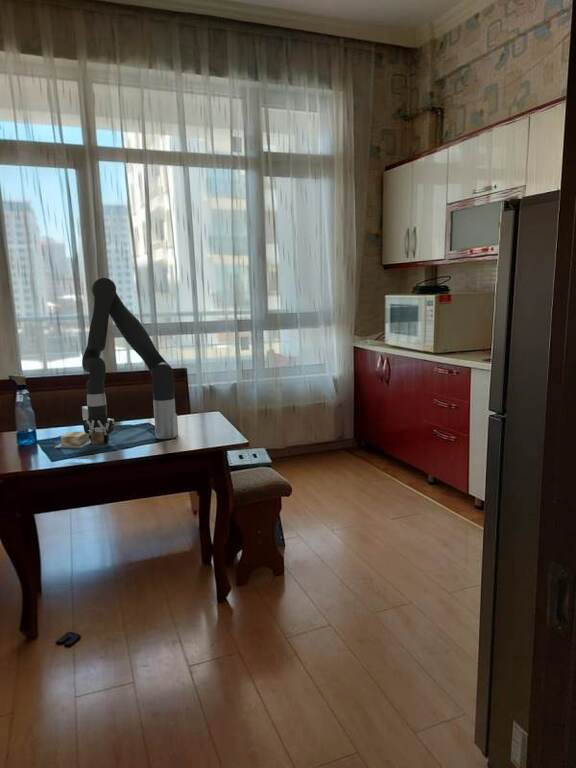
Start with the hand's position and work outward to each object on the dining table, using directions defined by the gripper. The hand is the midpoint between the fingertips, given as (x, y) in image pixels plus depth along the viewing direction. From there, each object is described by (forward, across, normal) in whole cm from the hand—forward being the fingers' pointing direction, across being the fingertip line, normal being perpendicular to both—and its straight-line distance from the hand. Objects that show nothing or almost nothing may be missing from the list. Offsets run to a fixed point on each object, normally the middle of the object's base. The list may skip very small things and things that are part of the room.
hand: (100, 442), depth 218 cm
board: (+1, +10, +2) cm, 10 cm away
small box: (+1, +11, -16) cm, 19 cm away
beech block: (0, +10, +2) cm, 10 cm away
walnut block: (+1, 0, 0) cm, 1 cm away
